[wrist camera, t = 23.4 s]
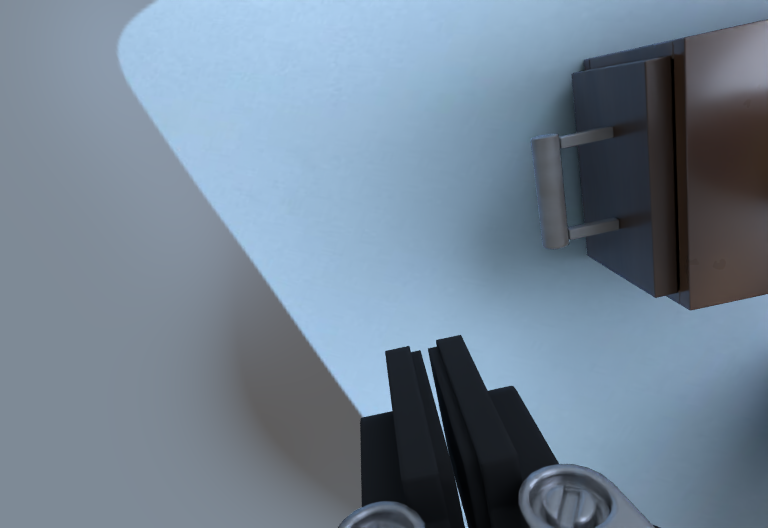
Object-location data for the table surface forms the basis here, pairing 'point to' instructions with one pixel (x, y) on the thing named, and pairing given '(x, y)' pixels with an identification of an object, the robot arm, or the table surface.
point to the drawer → (619, 173)
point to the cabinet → (718, 160)
